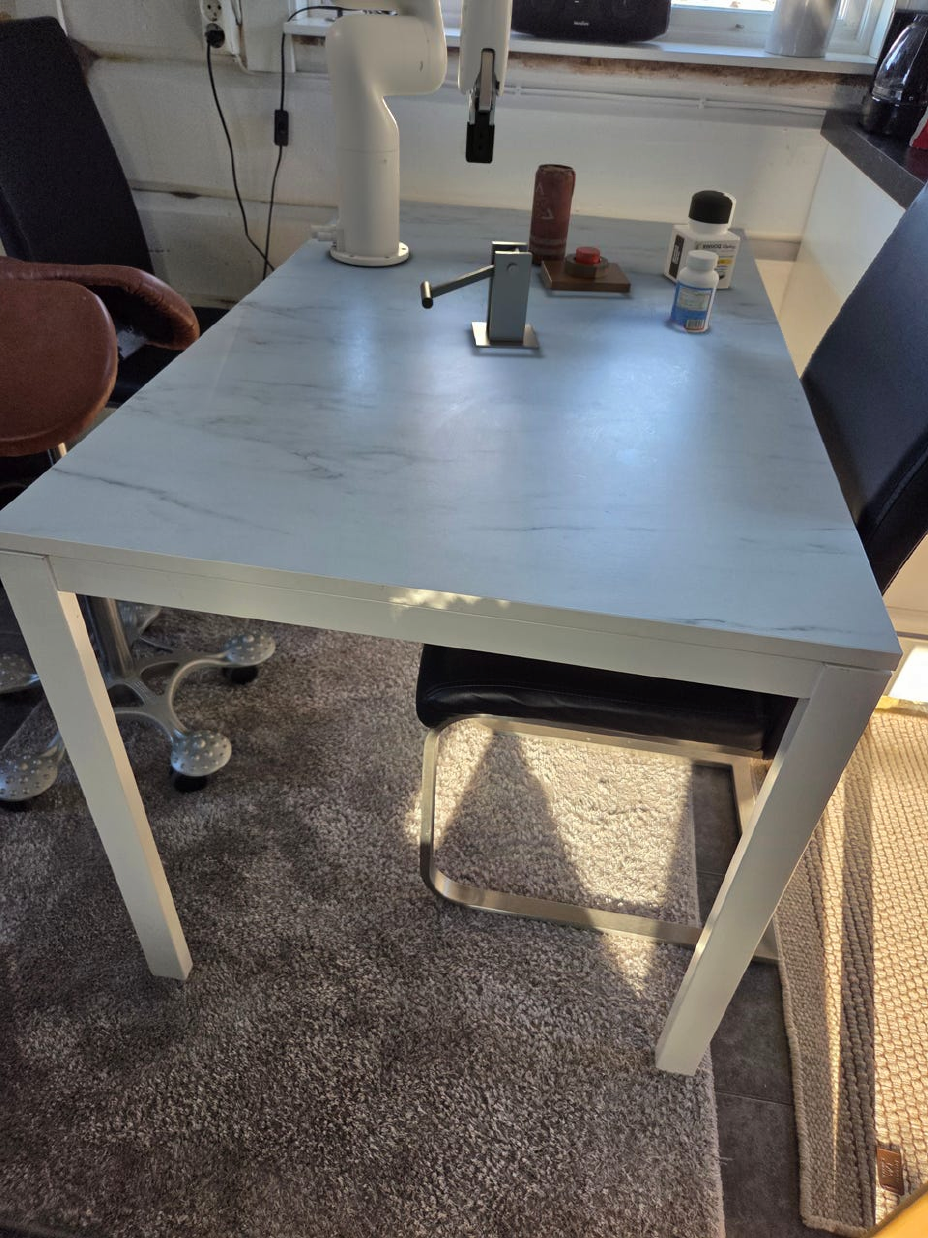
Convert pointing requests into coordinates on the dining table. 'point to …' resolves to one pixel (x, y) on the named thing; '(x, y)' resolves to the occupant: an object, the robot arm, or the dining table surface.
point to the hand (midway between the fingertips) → (478, 161)
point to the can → (551, 212)
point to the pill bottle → (695, 291)
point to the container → (705, 235)
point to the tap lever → (454, 284)
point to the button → (587, 255)
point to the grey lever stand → (507, 300)
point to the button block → (584, 276)
